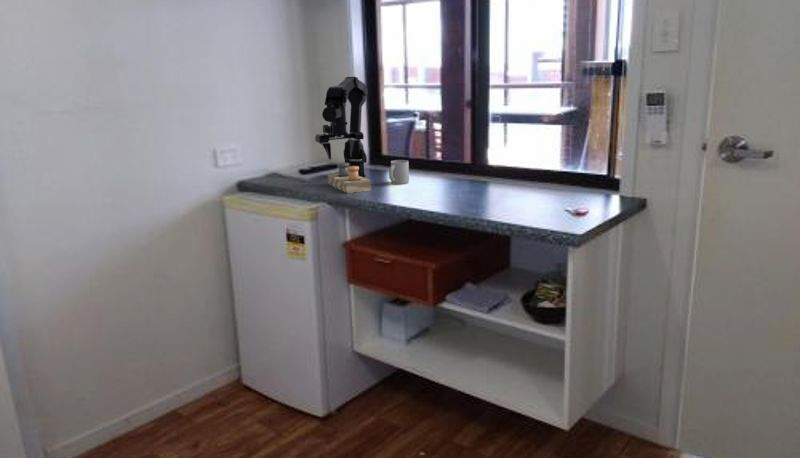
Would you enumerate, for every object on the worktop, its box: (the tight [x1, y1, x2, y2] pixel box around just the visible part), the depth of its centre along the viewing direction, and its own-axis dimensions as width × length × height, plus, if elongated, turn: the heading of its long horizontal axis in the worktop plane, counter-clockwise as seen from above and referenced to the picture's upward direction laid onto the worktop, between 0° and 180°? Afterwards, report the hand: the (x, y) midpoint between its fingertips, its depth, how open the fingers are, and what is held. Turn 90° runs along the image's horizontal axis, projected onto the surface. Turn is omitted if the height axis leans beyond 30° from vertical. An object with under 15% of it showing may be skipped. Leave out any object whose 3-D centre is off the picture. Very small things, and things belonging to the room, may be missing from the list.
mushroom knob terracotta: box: [347, 166, 359, 181], centre depth 242 cm, size 5×5×6 cm
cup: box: [388, 159, 410, 186], centre depth 252 cm, size 7×10×9 cm
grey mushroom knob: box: [337, 162, 349, 177], centre depth 251 cm, size 5×5×6 cm
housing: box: [327, 173, 372, 194], centre depth 248 cm, size 20×10×4 cm, turn 27°
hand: (340, 158), depth 250 cm, fingers open, 9 cm apart
